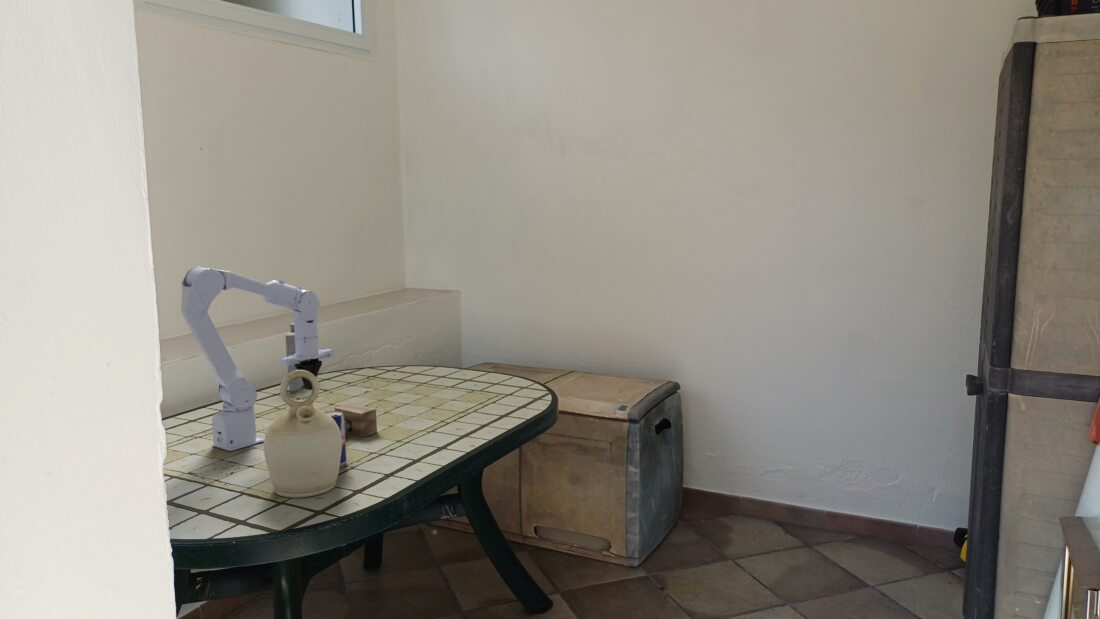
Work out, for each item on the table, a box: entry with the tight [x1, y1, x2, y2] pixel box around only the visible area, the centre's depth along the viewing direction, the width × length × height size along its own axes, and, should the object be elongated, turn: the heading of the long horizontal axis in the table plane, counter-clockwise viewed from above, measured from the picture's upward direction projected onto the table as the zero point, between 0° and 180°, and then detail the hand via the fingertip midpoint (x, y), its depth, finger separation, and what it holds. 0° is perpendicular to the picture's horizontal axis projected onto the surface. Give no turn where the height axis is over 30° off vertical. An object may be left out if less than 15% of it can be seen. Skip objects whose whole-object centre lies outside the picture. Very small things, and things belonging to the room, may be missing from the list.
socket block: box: [334, 403, 378, 438], centre depth 211 cm, size 5×10×6 cm, turn 53°
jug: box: [263, 370, 342, 499], centre depth 170 cm, size 15×16×25 cm
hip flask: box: [284, 322, 305, 392], centre depth 261 cm, size 16×4×20 cm, turn 177°
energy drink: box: [323, 410, 348, 470], centre depth 184 cm, size 5×5×12 cm
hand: (309, 388), depth 213 cm, fingers closed
